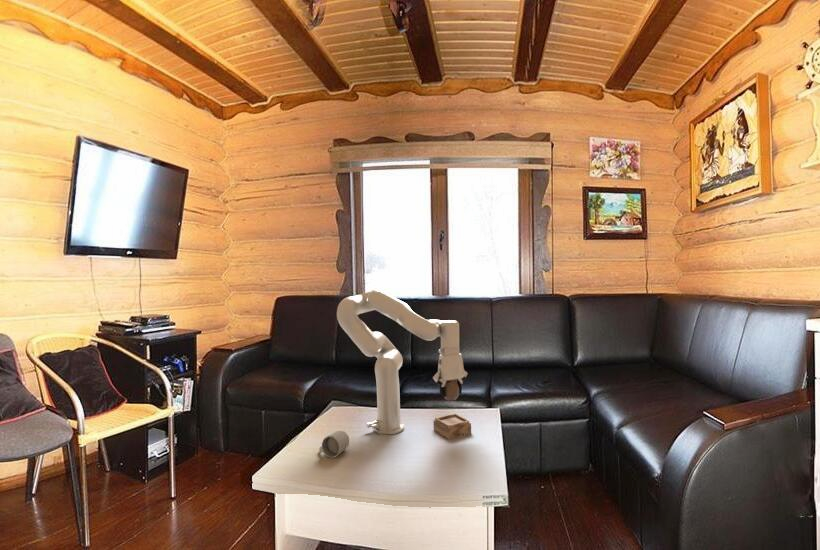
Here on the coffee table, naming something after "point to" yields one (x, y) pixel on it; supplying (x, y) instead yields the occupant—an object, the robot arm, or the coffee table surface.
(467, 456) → the coffee table surface
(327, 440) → the ceramic mug
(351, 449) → the coffee table surface
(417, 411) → the coffee table surface
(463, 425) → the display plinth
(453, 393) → the vase
